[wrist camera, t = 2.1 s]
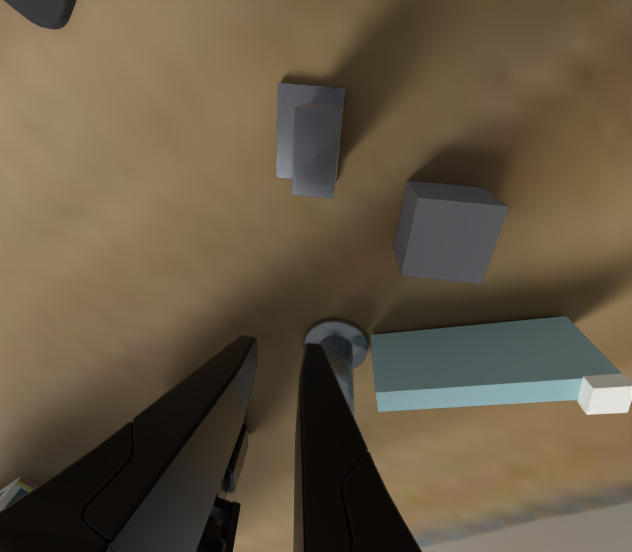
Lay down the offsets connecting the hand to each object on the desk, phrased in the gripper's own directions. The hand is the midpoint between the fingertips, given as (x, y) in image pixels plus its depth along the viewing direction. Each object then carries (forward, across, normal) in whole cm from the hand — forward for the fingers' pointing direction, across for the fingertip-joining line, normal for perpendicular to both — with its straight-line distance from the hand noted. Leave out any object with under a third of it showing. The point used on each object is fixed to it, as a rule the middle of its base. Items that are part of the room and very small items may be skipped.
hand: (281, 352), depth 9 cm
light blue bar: (+12, -10, +7) cm, 17 cm away
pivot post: (+12, -2, +10) cm, 15 cm away
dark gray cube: (+12, -7, 0) cm, 14 cm away
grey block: (+12, 0, -4) cm, 13 cm away
